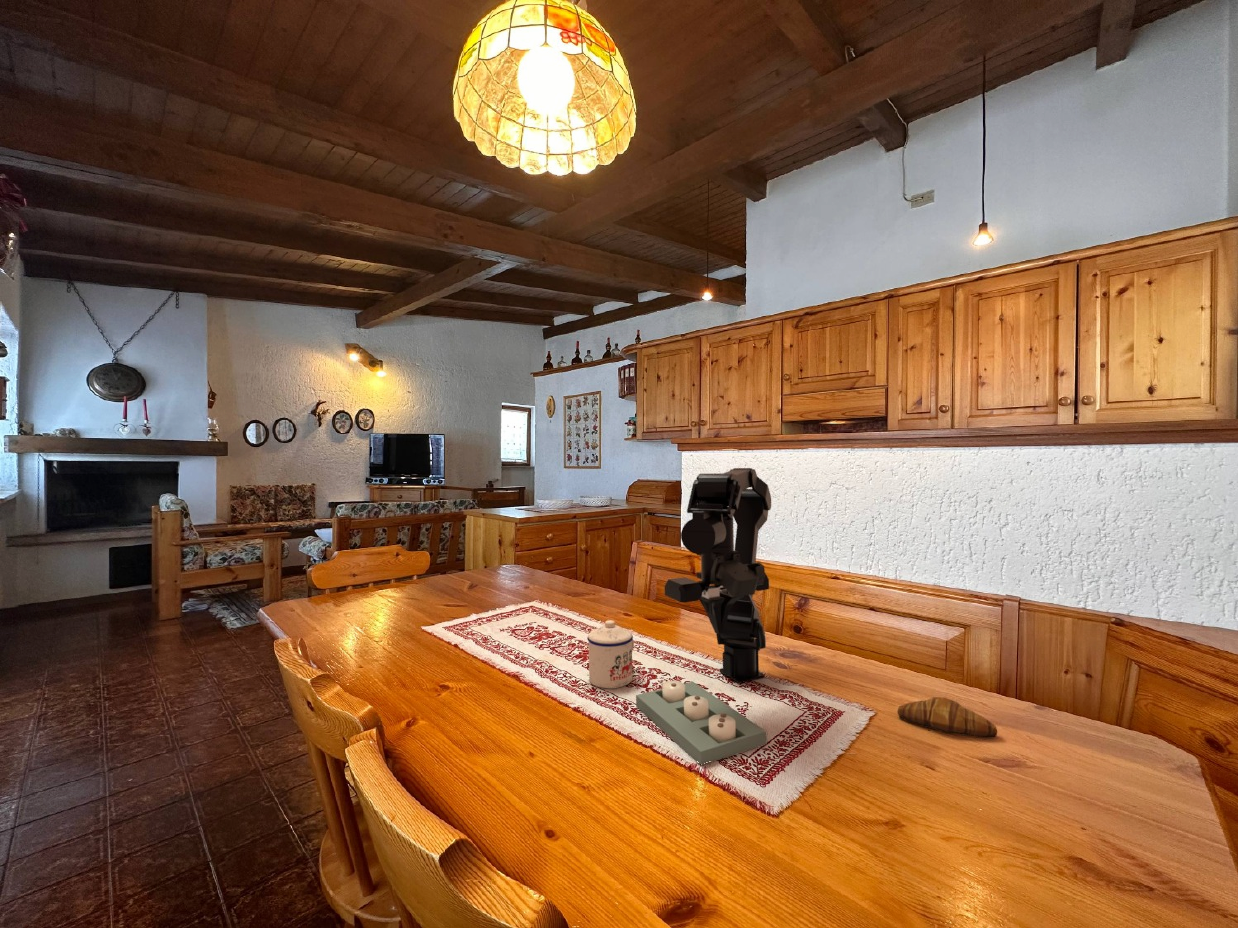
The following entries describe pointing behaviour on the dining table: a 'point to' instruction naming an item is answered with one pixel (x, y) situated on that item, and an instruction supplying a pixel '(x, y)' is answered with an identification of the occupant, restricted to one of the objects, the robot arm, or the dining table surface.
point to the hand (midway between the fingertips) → (718, 633)
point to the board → (700, 725)
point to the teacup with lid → (610, 656)
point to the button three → (722, 728)
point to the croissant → (947, 717)
